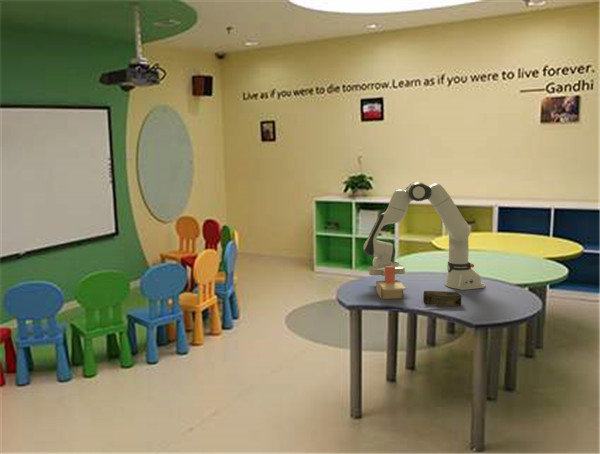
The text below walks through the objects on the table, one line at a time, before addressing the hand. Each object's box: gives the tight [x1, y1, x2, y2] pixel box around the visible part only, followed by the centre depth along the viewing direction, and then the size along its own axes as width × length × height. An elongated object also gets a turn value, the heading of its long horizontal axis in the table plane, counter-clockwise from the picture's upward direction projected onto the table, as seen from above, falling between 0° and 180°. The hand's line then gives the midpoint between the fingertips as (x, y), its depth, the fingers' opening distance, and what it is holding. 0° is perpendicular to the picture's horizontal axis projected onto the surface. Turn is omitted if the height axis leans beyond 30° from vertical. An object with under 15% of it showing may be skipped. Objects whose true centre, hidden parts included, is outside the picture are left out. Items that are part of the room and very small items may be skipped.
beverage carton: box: [422, 290, 462, 307], centre depth 296 cm, size 8×19×7 cm, turn 84°
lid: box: [378, 266, 407, 291], centre depth 304 cm, size 14×12×10 cm
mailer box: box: [375, 279, 404, 300], centre depth 310 cm, size 14×12×7 cm
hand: (389, 274), depth 310 cm, fingers closed, pressing on lid
